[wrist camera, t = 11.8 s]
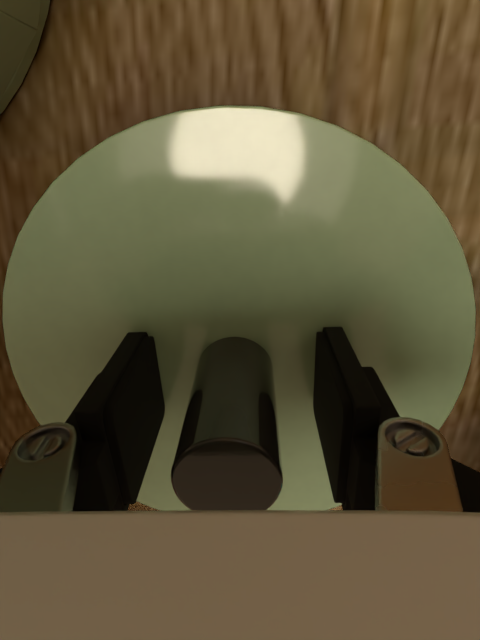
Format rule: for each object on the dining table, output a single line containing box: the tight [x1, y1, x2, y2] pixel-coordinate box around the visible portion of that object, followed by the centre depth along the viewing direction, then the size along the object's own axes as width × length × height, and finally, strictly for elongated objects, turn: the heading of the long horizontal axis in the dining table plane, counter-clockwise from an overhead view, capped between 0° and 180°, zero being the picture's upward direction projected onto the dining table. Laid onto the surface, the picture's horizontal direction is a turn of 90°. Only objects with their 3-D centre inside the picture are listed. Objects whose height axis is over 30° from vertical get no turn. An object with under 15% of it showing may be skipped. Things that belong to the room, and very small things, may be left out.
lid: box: [2, 105, 476, 511], centre depth 10 cm, size 15×15×6 cm
